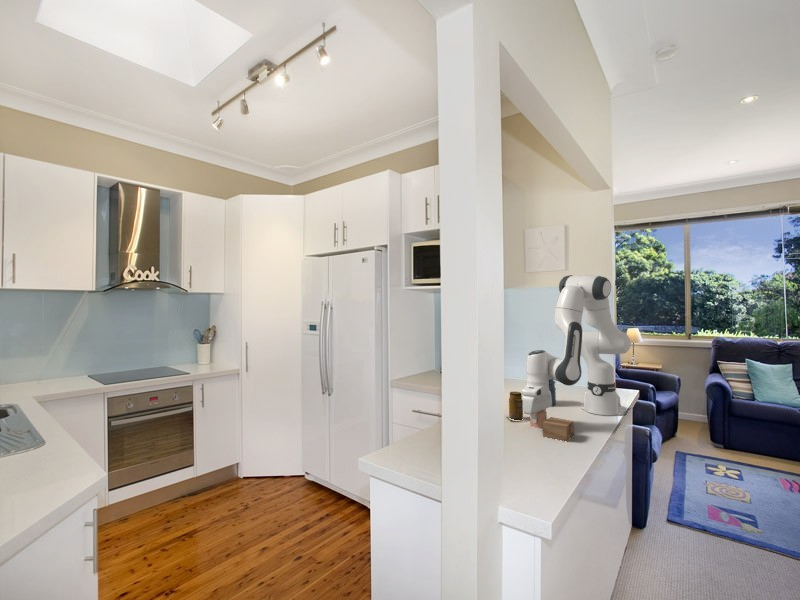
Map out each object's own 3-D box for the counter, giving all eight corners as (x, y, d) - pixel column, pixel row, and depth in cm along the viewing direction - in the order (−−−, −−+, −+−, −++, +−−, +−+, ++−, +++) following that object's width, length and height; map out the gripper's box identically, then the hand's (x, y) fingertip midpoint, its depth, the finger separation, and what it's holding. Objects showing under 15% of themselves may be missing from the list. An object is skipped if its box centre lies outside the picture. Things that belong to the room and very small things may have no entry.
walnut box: (551, 431, 160) (550, 417, 160) (574, 436, 154) (573, 421, 154) (542, 437, 153) (542, 422, 153) (566, 442, 147) (566, 426, 147)
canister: (561, 404, 205) (560, 370, 205) (546, 408, 197) (545, 373, 198) (540, 399, 215) (539, 367, 216) (524, 403, 208) (524, 370, 209)
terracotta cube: (535, 423, 171) (535, 409, 171) (546, 425, 167) (546, 411, 168) (530, 425, 167) (530, 411, 168) (541, 428, 164) (541, 413, 164)
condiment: (521, 416, 182) (520, 390, 183) (527, 421, 174) (527, 394, 174) (505, 417, 182) (505, 391, 182) (511, 422, 174) (510, 395, 174)
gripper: (541, 384, 177) (542, 414, 177) (519, 391, 163) (520, 424, 163) (555, 385, 173) (556, 417, 173) (533, 393, 158) (534, 427, 158)
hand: (538, 420), depth 167 cm, fingers closed on terracotta cube, 5 cm apart
